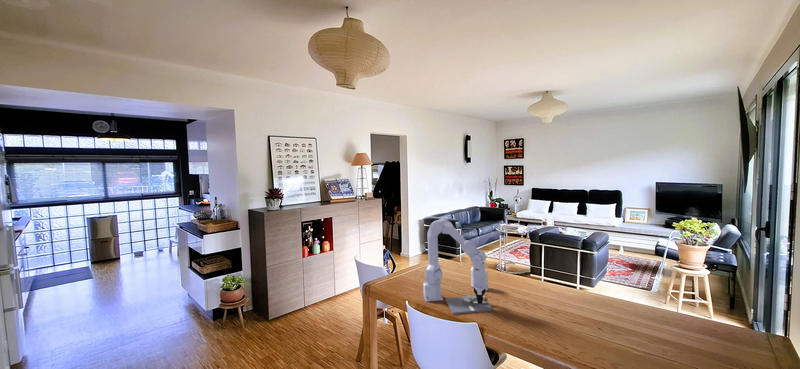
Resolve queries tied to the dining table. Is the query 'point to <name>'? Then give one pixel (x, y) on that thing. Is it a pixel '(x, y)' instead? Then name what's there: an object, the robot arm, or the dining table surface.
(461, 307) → the lock plate
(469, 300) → the lever with ball knob
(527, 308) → the dining table surface
